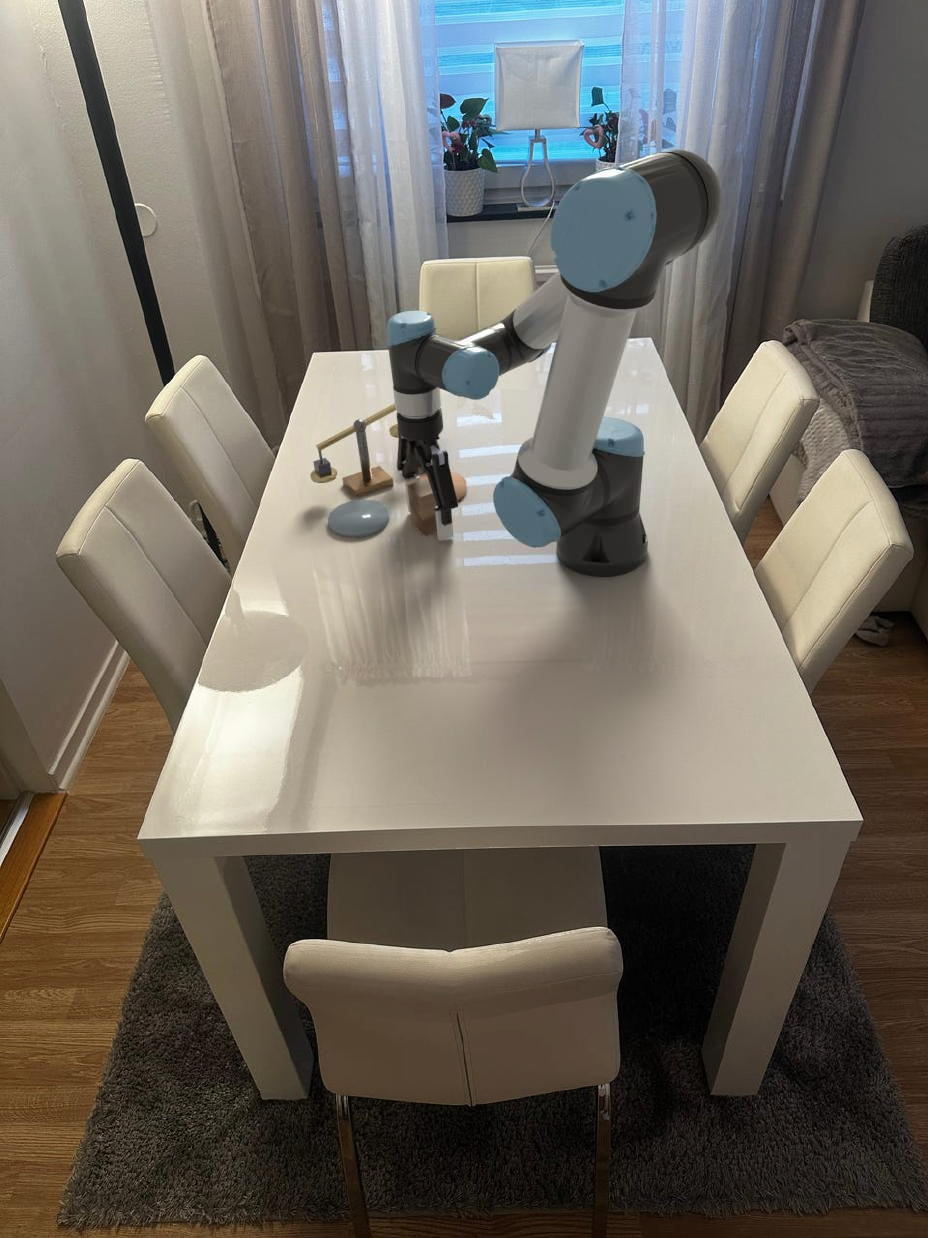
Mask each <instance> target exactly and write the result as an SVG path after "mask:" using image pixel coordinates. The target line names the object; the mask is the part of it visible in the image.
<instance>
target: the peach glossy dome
mask: <svg viewBox="0 0 928 1238" xmlns="http://www.w3.org/2000/svg"><path fill="white" fill-rule="evenodd" d="M450 472H451V476H452V480H453V485H454V489H455V493H456V497H457V502H458V501H459V500H461V499H463V498H464V496H465V495H466V494H467V491H468V486H467V485H468V484H467V480H466V479H465V477H464V476H463V475H461V474H460V473H457V472H454V471H450ZM418 476H419V477H420V481H422V480H425V479H428V477H427V474H426V472H423V473H422V474H419V475H418Z"/></svg>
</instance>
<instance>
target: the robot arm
mask: <svg viewBox="0 0 928 1238" xmlns="http://www.w3.org/2000/svg"><path fill="white" fill-rule="evenodd" d="M722 195H723V194H722V189H721V183H720V180H719V179H718V176H717V174H716V172H715V169H713V167H712V166H711V164H710V163H709V162H708V161H707V160H705V159H704V158H703V157H702V156H699V155H698V154H696V153H694V152H691V151H688V150H685V149H677V148H676V149H675V148H674V149H665V150H663V151H662V150H661V151H658V152H656V153H653V154H650V155H647V156H644V157H642V158H639V159H636V160H633V161H631V162H628V163H624V164H622V165H619V166H618V165H617V166H615V165H614V166H608V167H604V168H601V169H599V170H597V171H595V172H593V173H592V174H590V175H588V176H587V177H585V178H582V179H581V180H579V181H577V182H576V183H575V184H573V185H572V186H571V187H570V188H569V189H567V191H566V192H565V194H563V196H562V198H561V199H560V201H559V202H558V204H557V206H556V209H555V212H554V214H553V217H552V220H551V226H550V248H551V251H553V252H555V255H556V257H554V258H553V260H554V263H555V265H556V267H557V270H558V271H557V272H556V273H554V274H553V275H552V276H551V277H550V278H549V279H548V280H547V281H545V282H544V283H543V284H542V285H541V286H540V287H539V288H537V289H536V290H535V291H534V292H533V293H531V295H529V296H528V297H527V298H526V299H525V300H524V301H523V302H521V304H519V305H517V307H516V308H515V309H514V310H512V311H511V312H510V313H509V314H507V316H505V318H503V319H501V320H499V321H498V322H495V323H494V324H491V325H489V326H486V327H484V328H482V329H479V330H477V331H475V332H472V333H470V334H467V335H466V336H463V337H460V338H457V339H454V338H452V337H448V336H445V335H443V334H441V333H437V331H436V330H437V326H436V323H435V318H434V317H433V316H432V315H431V313H429V312H427V311H423V310H406V311H402V312H399V313H397V314H394V315H392V316H391V317H390V318H389V319H388V320H387V324H386V333H387V335H386V336H387V344H386V346H387V347H388V355H389V362H390V363H389V364H390V369H391V370H390V371H391V372H390V373H391V379H392V385H393V386H392V391H393V400H394V404H395V409H396V422H397V424H398V436H399V438H398V443H397V445H398V446H397V458H396V459H397V460H396V461H397V462H396V468H397V471H399V472H400V471H401V475H402V478H404V487H405V494H406V504H407V511H408V513H410V514H411V512H410V503H409V494H408V486H407V485H410V484H413V483H416V482H419V481H420V477H419V475H420V474H421V471H422V472H423V473H426V474H427V477H428V480H429V483H430V486H431V489H432V492H433V495H434V498H435V500H436V503H437V507H435V508H434V510H435V514H436V524H437V532H436V533H437V540H438V542H441V541H443V540H447V539H450V538H452V537H454V528H453V525H454V524H453V515H452V512H453V511H452V510H453V509H455V508H458V507H459V503H458V501H457V497H456V493H455V489H454V485H453V480H452V476H451V472H452V471H451V469H450V462H449V461H450V460H449V453H448V451H447V450H445V449H444V450H443V451H441V449H440V450H439V447H438V444H437V441H438V440H436V438H437V436H440V434H441V433H442V432H443V430H444V422H443V421H444V419H443V410H442V408H441V406H442V398H441V390H443V391H445V392H448V393H450V394H452V395H454V396H457V397H459V398H461V397H462V398H465V399H469V400H474V401H477V400H482V399H485V398H487V396H489V395H490V392H491V391H492V390H493V389H495V387H496V386H497V383H498V380H499V377H501V376H502V375H504V374H506V373H508V372H511V371H512V370H515V369H516V368H517V369H518V368H519V367H521V366H523V365H526V364H529V363H532V362H534V361H536V360H538V359H539V358H541V357H542V356H544V355H545V354H546V353H548V352H549V350H551V347H552V343H553V344H554V343H555V345H554V350H553V355H552V358H551V363H550V367H549V371H548V374H547V380H546V381H545V382H546V383H545V387H544V391H543V395H542V397H541V398H542V399H541V403H540V406H539V407H540V408H539V412H538V416H537V420H536V423H535V427H534V432H533V435H532V437H530V438H528V439H526V440H524V442H523V443H522V444H521V445H520V447H519V449H518V452H517V456H516V460H515V465H514V468H513V471H512V473H511V474H510V475H509V476H504V477H502V478H501V480H500V481H498V483H497V484H496V485H495V487H494V489H493V492H492V493H493V494H492V495H493V496H492V499H493V506H494V510H495V513H496V515H497V517H498V518H499V521H500V522H501V524H502V526H503V527H504V528H505V530H506V531H507V532H508V533H509V534H510V536H512V537H513V538H514V539H515V540H516V541H518V542H519V543H520V544H523V545H525V546H527V547H530V548H535V549H536V548H543V547H547V546H548V545H550V544H552V543H555V542H556V556H557V558H558V560H559V561H560V562H561V563H562V564H563V565H564V566H565V567H567V568H569V569H570V570H572V571H574V572H576V573H579V574H583V575H587V576H592V577H593V576H595V577H613V576H614V577H615V576H620V575H624V574H626V573H629V572H631V571H634V570H635V569H637V568H638V567H639V566H641V565H643V563H644V562H645V560H646V559H647V555H648V547H649V546H648V545H649V540H648V539H649V538H648V535H647V533H646V530H645V526H644V522H643V520H642V517H641V513H640V507H641V506H640V504H641V496H642V495H641V493H642V480H643V468H644V467H643V465H644V456H645V454H646V452H645V451H646V450H645V447H644V446H645V440H644V439H645V437H644V434H643V432H642V431H641V429H640V428H639V427H638V426H637V425H635V424H634V423H632V422H630V421H627V420H624V419H622V418H621V419H620V418H616V417H610V416H604V415H605V412H606V409H607V406H608V403H609V399H610V397H611V393H612V390H613V386H614V383H615V380H616V377H617V374H618V370H619V369H620V368H619V367H620V365H621V360H622V358H623V355H624V351H625V348H626V346H627V343H628V340H629V336H630V333H631V329H632V326H633V323H634V320H635V317H636V313H637V311H640V310H642V309H645V308H647V307H648V306H650V305H651V304H652V302H653V300H655V299H654V298H655V296H656V294H657V293H656V292H657V289H658V286H659V284H660V280H661V277H662V275H663V271H664V268H665V267H667V266H668V265H670V264H671V263H672V262H674V261H675V260H677V259H678V258H679V257H681V256H684V255H685V254H687V253H689V252H691V251H692V250H694V249H696V248H698V247H699V246H700V245H701V244H703V243H704V242H705V241H706V240H707V239H708V237H710V235H711V234H712V232H713V231H714V229H715V227H716V225H717V223H718V221H719V217H720V216H721V215H720V214H721V212H722V211H721V210H722V203H723V197H722ZM555 341H556V342H555ZM419 465H421V467H419ZM419 468H421V471H420V469H419ZM418 474H419V475H418Z"/></svg>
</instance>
